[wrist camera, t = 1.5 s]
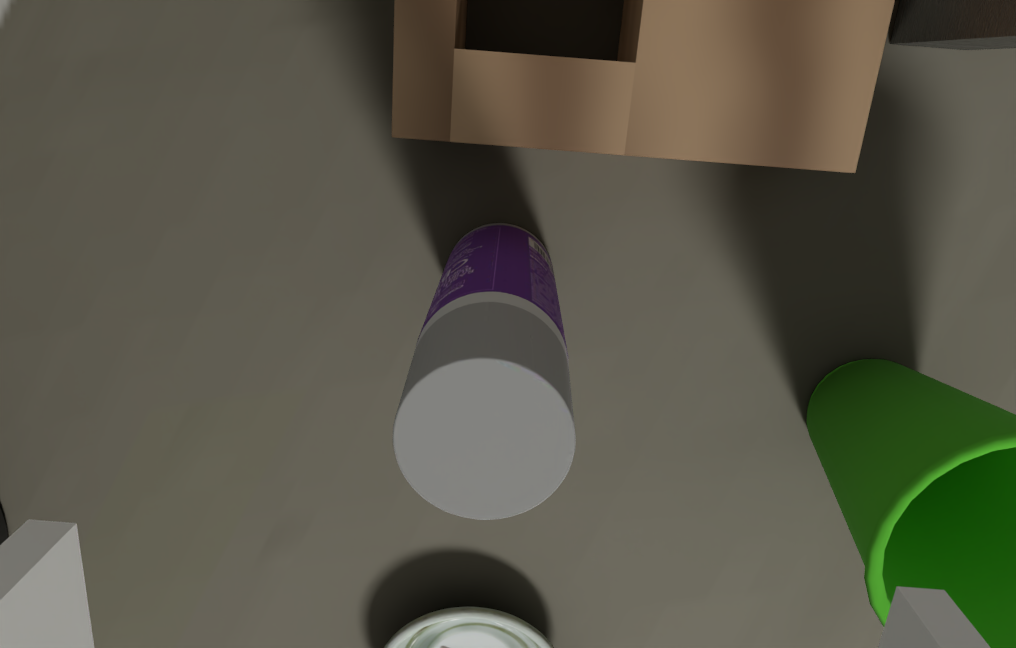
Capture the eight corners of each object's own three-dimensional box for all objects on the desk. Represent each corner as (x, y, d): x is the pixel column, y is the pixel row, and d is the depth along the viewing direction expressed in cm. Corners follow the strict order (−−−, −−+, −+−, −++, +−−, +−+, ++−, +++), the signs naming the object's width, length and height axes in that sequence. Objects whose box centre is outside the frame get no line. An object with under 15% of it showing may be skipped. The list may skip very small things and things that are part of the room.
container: (458, 210, 31) (407, 331, 17) (565, 236, 31) (604, 376, 17) (436, 312, 32) (371, 503, 18) (538, 336, 33) (553, 541, 19)
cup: (997, 420, 34) (1210, 576, 23) (827, 525, 36) (953, 713, 25) (898, 274, 32) (1084, 375, 21) (722, 395, 34) (814, 542, 23)
